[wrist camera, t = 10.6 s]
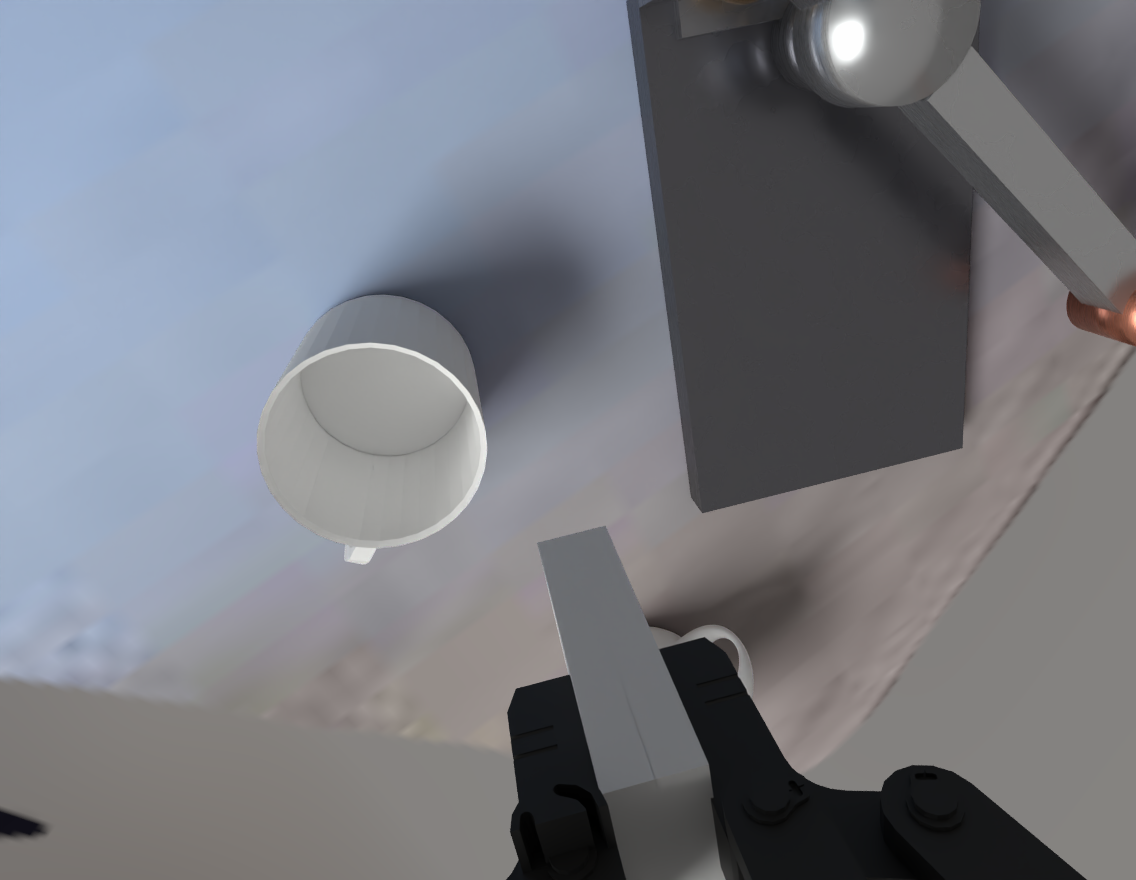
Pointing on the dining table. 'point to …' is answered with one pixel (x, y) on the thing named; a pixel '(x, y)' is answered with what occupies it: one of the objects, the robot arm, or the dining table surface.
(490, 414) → the dining table surface
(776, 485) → the press base
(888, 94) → the lever
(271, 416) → the mug
